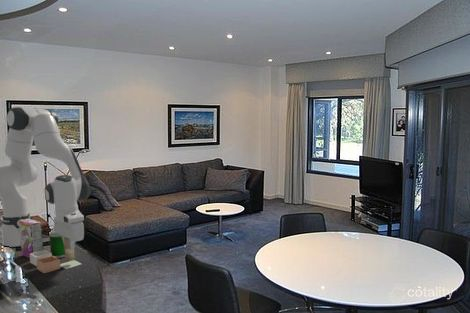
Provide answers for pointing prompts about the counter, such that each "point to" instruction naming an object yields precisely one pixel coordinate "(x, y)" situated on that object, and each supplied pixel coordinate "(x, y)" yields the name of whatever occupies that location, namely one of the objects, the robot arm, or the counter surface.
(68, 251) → the beech peg
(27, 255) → the candy bar box
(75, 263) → the coaster
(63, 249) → the soda can
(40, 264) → the orange square socket block
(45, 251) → the light grey square bin
